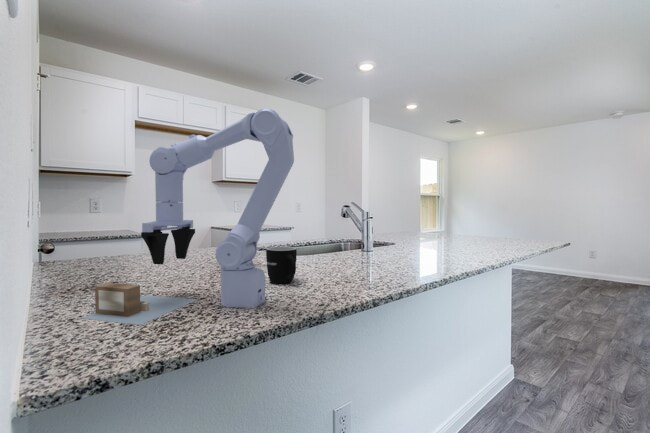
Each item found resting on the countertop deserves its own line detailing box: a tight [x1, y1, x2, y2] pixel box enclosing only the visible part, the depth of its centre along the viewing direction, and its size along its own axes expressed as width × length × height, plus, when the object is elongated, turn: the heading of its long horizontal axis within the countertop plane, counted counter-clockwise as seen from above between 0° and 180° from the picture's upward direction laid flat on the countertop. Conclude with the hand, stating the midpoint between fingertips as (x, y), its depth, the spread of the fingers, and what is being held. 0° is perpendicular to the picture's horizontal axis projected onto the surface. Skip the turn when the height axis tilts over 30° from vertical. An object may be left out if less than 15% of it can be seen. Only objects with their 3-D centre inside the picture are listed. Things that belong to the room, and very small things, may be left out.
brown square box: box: [94, 282, 141, 317], centre depth 68 cm, size 8×3×6 cm, turn 76°
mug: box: [265, 246, 298, 285], centre depth 99 cm, size 12×9×10 cm
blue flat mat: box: [79, 294, 198, 326], centre depth 71 cm, size 14×17×3 cm
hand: (170, 261), depth 78 cm, fingers open, 7 cm apart
